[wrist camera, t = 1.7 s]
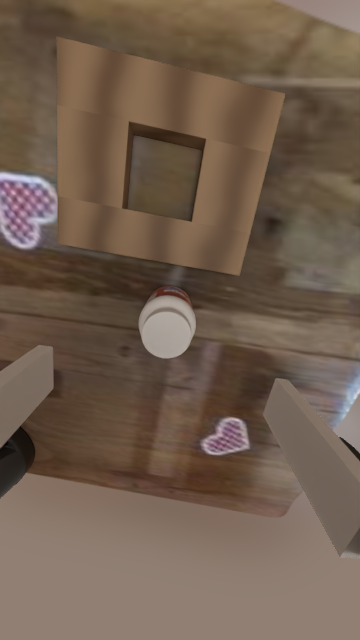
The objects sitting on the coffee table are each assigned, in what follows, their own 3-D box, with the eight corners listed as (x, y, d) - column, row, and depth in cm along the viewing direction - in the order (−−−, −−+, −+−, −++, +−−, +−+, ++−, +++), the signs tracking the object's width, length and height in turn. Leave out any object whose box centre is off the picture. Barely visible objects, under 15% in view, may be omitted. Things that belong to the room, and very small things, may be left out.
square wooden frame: (68, 244, 27) (57, 243, 24) (69, 60, 21) (56, 36, 19) (233, 273, 29) (239, 275, 26) (273, 110, 23) (285, 93, 21)
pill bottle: (199, 303, 30) (214, 331, 19) (173, 334, 31) (172, 377, 21) (165, 275, 28) (160, 289, 18) (138, 309, 30) (119, 341, 19)
